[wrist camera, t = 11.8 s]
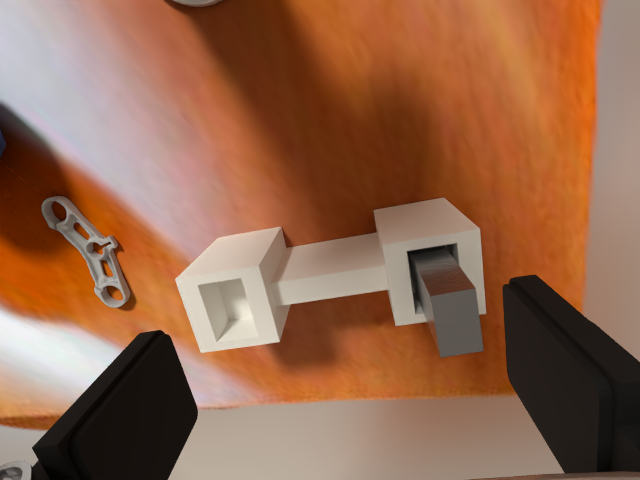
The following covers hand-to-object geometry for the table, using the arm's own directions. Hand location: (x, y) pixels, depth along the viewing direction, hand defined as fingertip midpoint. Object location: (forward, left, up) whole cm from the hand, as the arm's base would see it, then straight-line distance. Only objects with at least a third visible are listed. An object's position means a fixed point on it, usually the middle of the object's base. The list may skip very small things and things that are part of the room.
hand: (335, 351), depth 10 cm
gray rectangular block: (+9, +6, -25) cm, 28 cm away
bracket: (+4, -33, -34) cm, 47 cm away
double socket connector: (+9, -3, -33) cm, 35 cm away
